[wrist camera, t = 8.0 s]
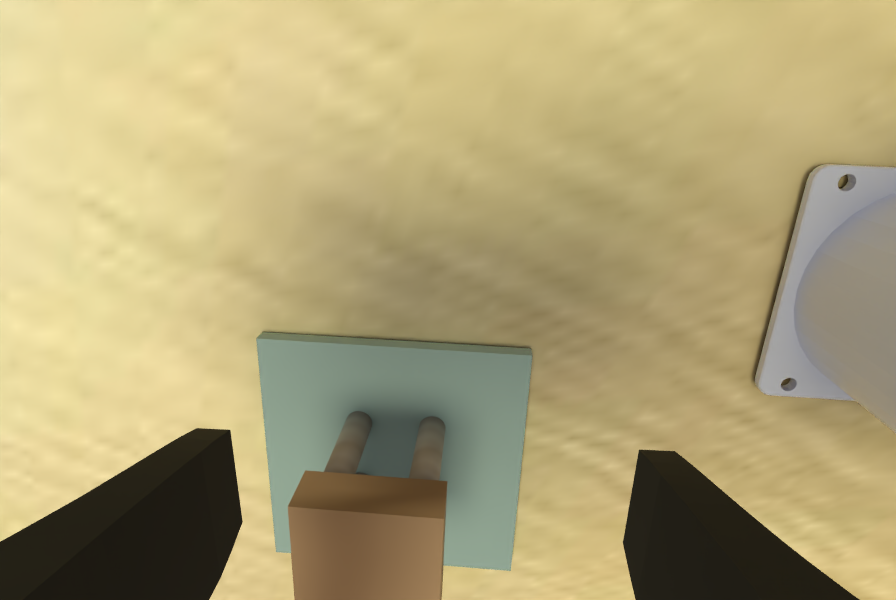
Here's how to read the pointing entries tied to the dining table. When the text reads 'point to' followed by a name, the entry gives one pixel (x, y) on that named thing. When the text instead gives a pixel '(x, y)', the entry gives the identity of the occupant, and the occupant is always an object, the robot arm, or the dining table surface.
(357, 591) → the brown block with pegs
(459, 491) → the board
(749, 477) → the dining table surface
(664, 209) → the dining table surface
